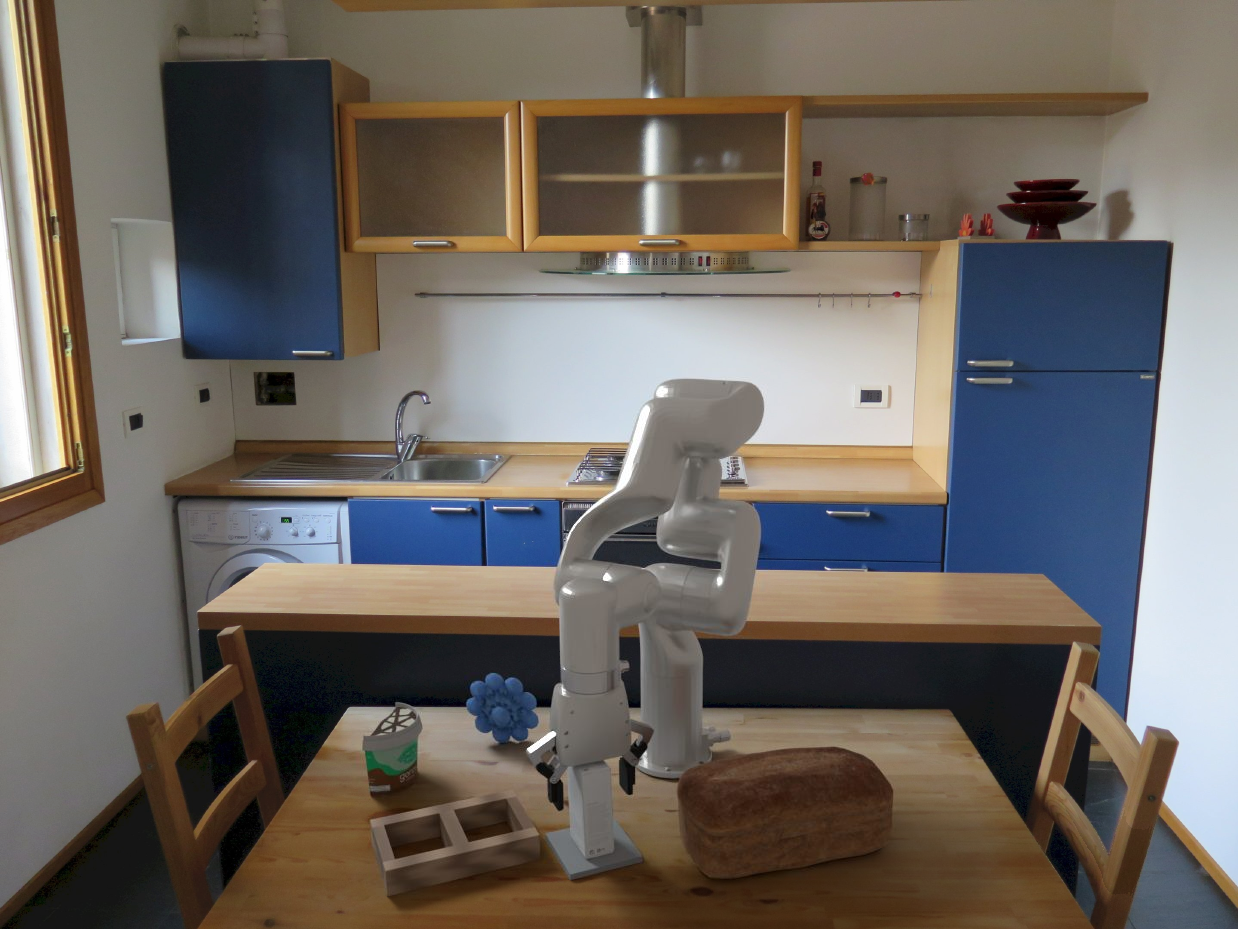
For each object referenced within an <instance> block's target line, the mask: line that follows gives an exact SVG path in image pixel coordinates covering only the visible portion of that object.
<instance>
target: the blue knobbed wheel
mask: <svg viewBox="0 0 1238 929" xmlns="http://www.w3.org/2000/svg"><path fill="white" fill-rule="evenodd" d="M523 691H524V686H523V683H522V682H521V681H520V680H519V679H518V678H516V677H508V678H507V679H505V681H504V678H503V677H502V676H501V675H500V674H499V673H495V672H491V673H489V674H487V675H486V676H485V682H484V681H481V680H475V681H473V682H472V683H471V685H470V694H471V695H472V697H471V698H469V699H467V700H466V703H465V705H466V710H467V712H468V714H471V715H472V716H474V717H475V719H474V726H475V728H476V729H477V730H478V731H479V732H480V733H483V734H489V733H490V732H491V733H492V734H491V735H492V738H493V740H495V741H496V742H498V743H501V744H506V743H508V742H509V741H510V739H511V738H512V739H513V740H514V741H517V742H524V741H526V740H527V739H528V737H529V729H530V730H533V729H535V728H536V727H538V726H539V722H540V720H539V716H538V714H537V713H536V712H534V711H533V710H535V709H536V707H537V699H536V698H537V697H535V695H533V694H532V693H530V692H525V691H524V692H523Z"/></svg>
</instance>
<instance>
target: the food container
mask: <svg viewBox="0 0 1238 929" xmlns="http://www.w3.org/2000/svg"><path fill="white" fill-rule="evenodd" d="M394 705H395V708H394V709H393V711H392V713H390V714H389V715H388V716H386V717H384V719H382V720H381V721H380V723H378V725H377V726H376V728H375V730H374V731H373V732H372V733H371V734H370V735H363V736H362V738H363V740H362V751H364V756H365V761H366V762H365V764H366V765H365V766H366V771H367V780H368V786H369V787H368V788H369V796H370V795H371V796H372V797H374V796H375V797H381V796H382V795H384V796H391V795H394V793H395V794H398V792H399V793H401V792H403V791H405V789H406V790H408V789H409V788H411V787H412V786H413V785H414V784H415V783H416V781H417V779H418V751H419V750H418V749H419V747H418V746H419V745H418V743H419V735H420V734H421V733H422V731H423V723H422V720H421V716H420V714H419V713H418V710H417V709H416V708H415V707H414V706H411V705H410V704H407V703H403V702H399V701H397V702H395V703H394Z"/></svg>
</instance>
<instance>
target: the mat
mask: <svg viewBox="0 0 1238 929" xmlns="http://www.w3.org/2000/svg"><path fill="white" fill-rule="evenodd" d="M613 831H614V852H613V853H610V854H607V855H603V856H599V857H595V858H589V859H586V858H585V857H584V855H583V854H582V852H581V851H580V849H579V848H578V846H577V845H576V843H575V842H574V840H573V839H572V837H571V831H570V827H566V828H562V829H558V830H554V831H550V832H545V834H544V836H545V841H546V842H547V845H548V846H549V847H550V848H551V850H552V852H553V854H554V856H555V857H556V859H557V861H558V862H559V864H560V866H561V868H563V871H564V873H565V874H566V875H567V877H568V879H569V881H573V880H576V879H580V878H583V877H588V876H593V875H596V874H599V873H600V874H601V873H604V872H608V871H612V870H616V869H620V868H623V867H626V866H631V865H635V864H639V863H643V862H644V861H643V860H644V857H643V854H642V853H641V852H640V851H639V848H637V846H636V845H635V843H633V841H632V840H631V839H630V837H629V836H628V834H627V833H626V832H625V830H624V829H623V827H622V826H621V825H620V824H619V822H618V821H617V820H616V818H615V817H614V816H613Z"/></svg>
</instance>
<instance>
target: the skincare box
mask: <svg viewBox="0 0 1238 929" xmlns="http://www.w3.org/2000/svg"><path fill="white" fill-rule="evenodd" d="M566 777H567V792H568V793H567V794H568V796H567V797H568V809H569V810H568V811H569V828H570V831H571V837H572V839H573V840H574V842H575V843H576V845H577V846H578V848H579V849H580V851H581V852H582V854H583V855H584V857H585V858H586V859H589V858H595V857H599V856H603V855H607V854H610V853H613V852H614V831H613V817H614V815H613V814H614V813H613V812H614V810H613V791H612V790H613V788H612V768H611V767H610V766H609V765H608V764H607V762H606V761H605V760H602V761H597V762H592V763H588V764H583V765H578V766H572V767H568V768H567V769H566Z"/></svg>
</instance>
